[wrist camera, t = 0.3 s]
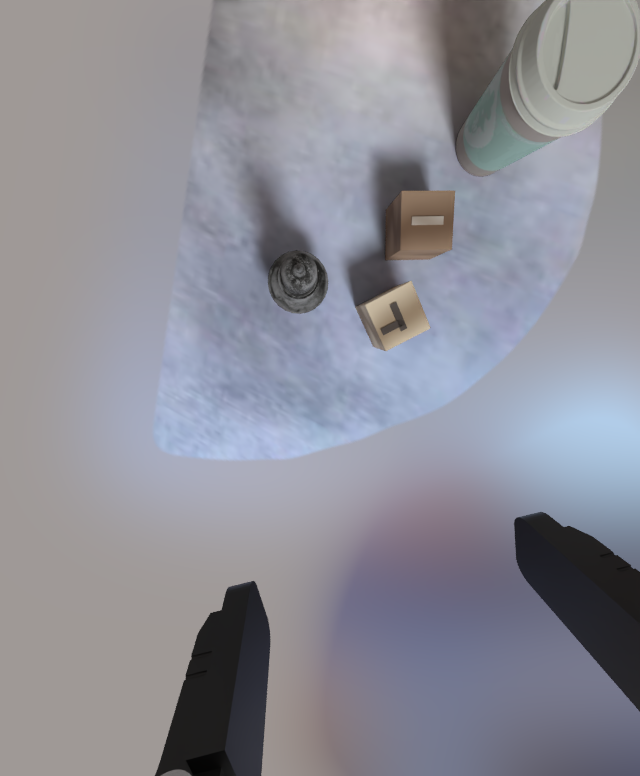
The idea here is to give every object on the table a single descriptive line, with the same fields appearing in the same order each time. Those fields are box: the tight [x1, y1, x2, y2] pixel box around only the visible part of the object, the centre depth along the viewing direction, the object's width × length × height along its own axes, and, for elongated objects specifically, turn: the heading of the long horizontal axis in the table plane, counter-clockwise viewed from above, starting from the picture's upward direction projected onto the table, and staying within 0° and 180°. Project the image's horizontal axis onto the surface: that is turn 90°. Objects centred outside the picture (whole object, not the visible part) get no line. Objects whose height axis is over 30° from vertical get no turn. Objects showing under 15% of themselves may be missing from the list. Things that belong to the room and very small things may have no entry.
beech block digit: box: [355, 281, 430, 351], centre depth 33 cm, size 5×5×5 cm
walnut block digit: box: [385, 191, 455, 260], centre depth 31 cm, size 5×5×5 cm
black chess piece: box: [268, 250, 328, 314], centre depth 28 cm, size 6×6×12 cm
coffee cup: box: [456, 0, 640, 177], centre depth 26 cm, size 8×8×12 cm
